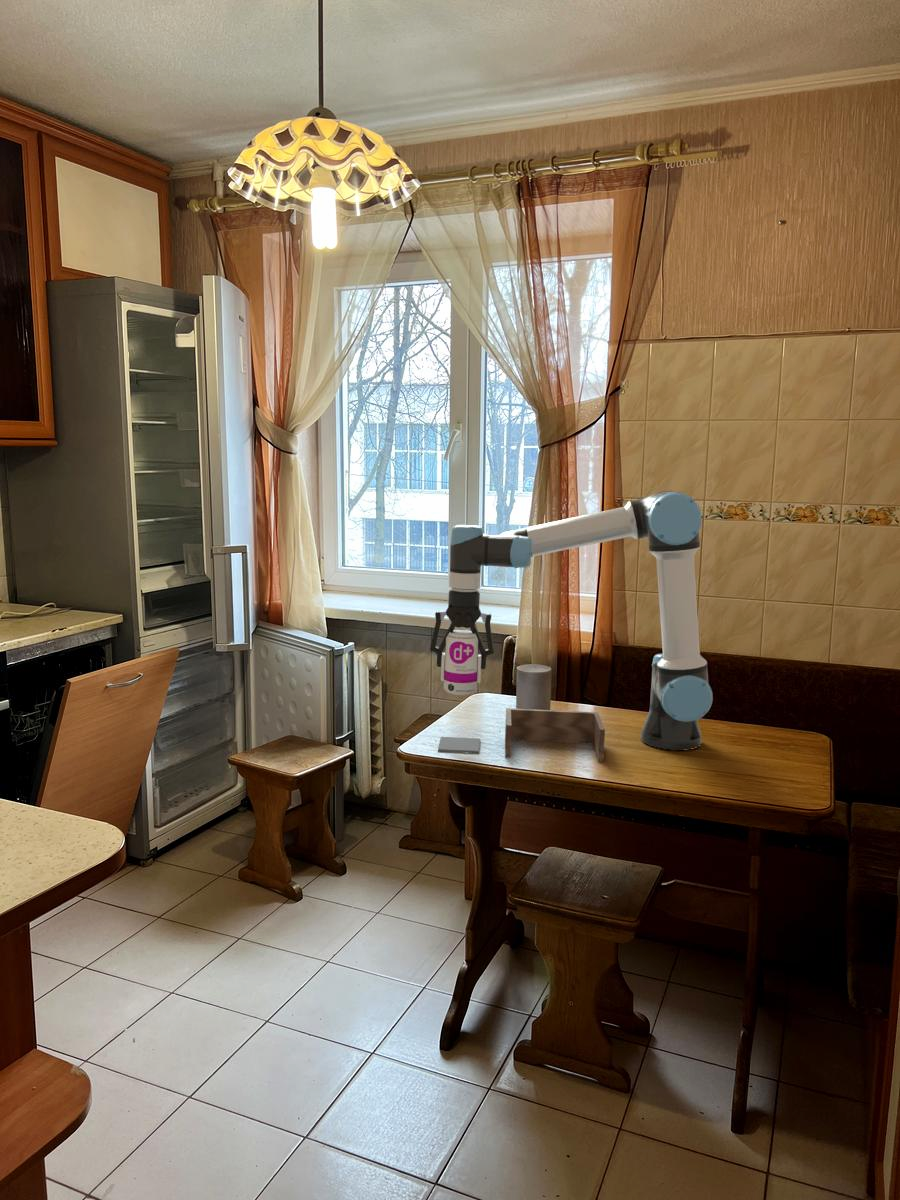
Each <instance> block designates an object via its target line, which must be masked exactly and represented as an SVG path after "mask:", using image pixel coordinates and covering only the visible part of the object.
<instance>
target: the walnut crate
mask: <svg viewBox="0 0 900 1200" xmlns="http://www.w3.org/2000/svg"><path fill="white" fill-rule="evenodd" d="M505 709H506V710H505V726H504V727H505V730H504V758H507V757H510V758H511V743H512V741H520V740H523V742H541V743H542V741H543V742H546V743H563V742H565V743H566V744H567V743H568V744H583V745H584V744H588V745H589V744H590V745H592V747H593V750H594V754H595V757H596V760H597V762H598V763H604V755H605V754H604V753H605V738H606V737H605V736H606V735H605V733H606V728H605V726H604V723H603V721H602V718H601V715H600V713H599V712H598V711H596V712H595V711H581V710H580V711H577V710H576V711H575V710H573V711H572V710H557V709H555V710H552V709H550V710H536V709H516V708H512V707H511V708H510V707H509V708H508V707H506V708H505ZM565 743H564V744H565Z"/></svg>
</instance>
